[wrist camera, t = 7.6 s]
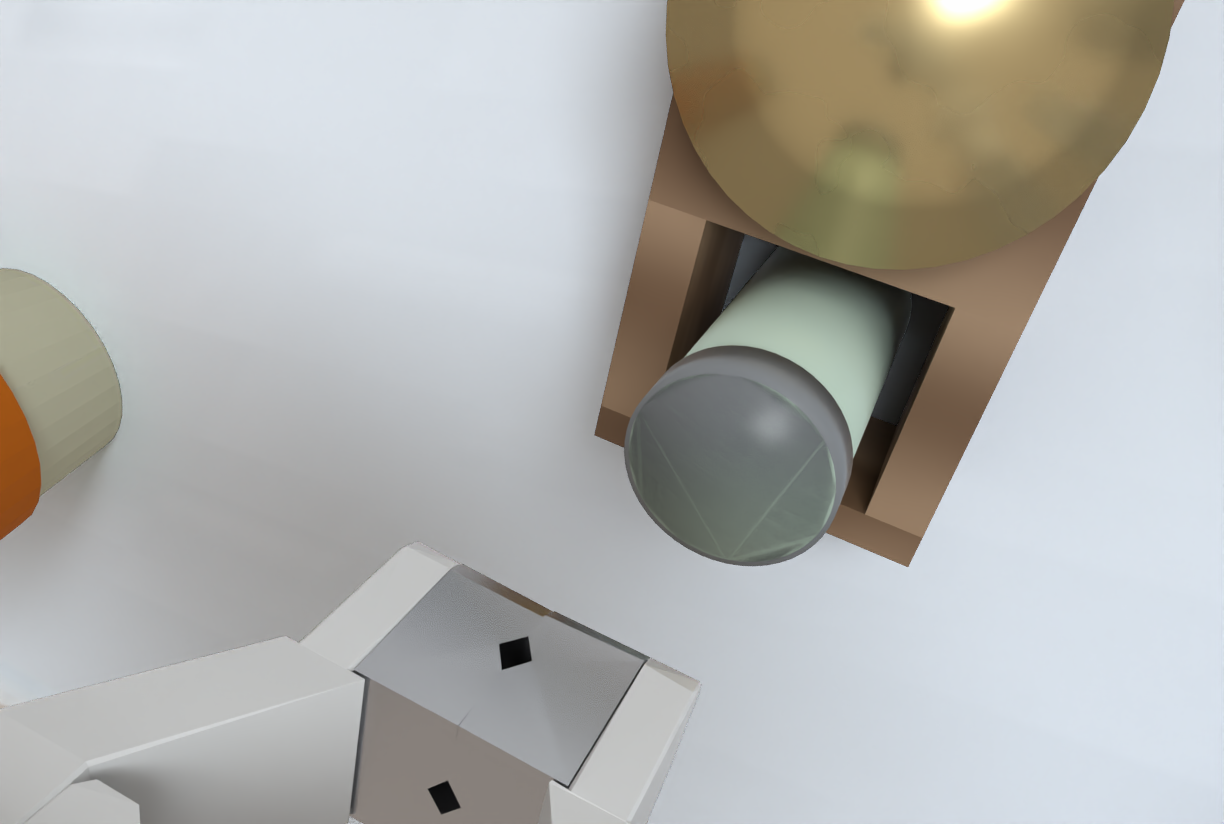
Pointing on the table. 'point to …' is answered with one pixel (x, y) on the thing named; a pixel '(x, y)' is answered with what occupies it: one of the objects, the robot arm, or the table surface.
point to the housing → (973, 289)
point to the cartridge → (767, 412)
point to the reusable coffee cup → (48, 393)
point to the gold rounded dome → (910, 114)
